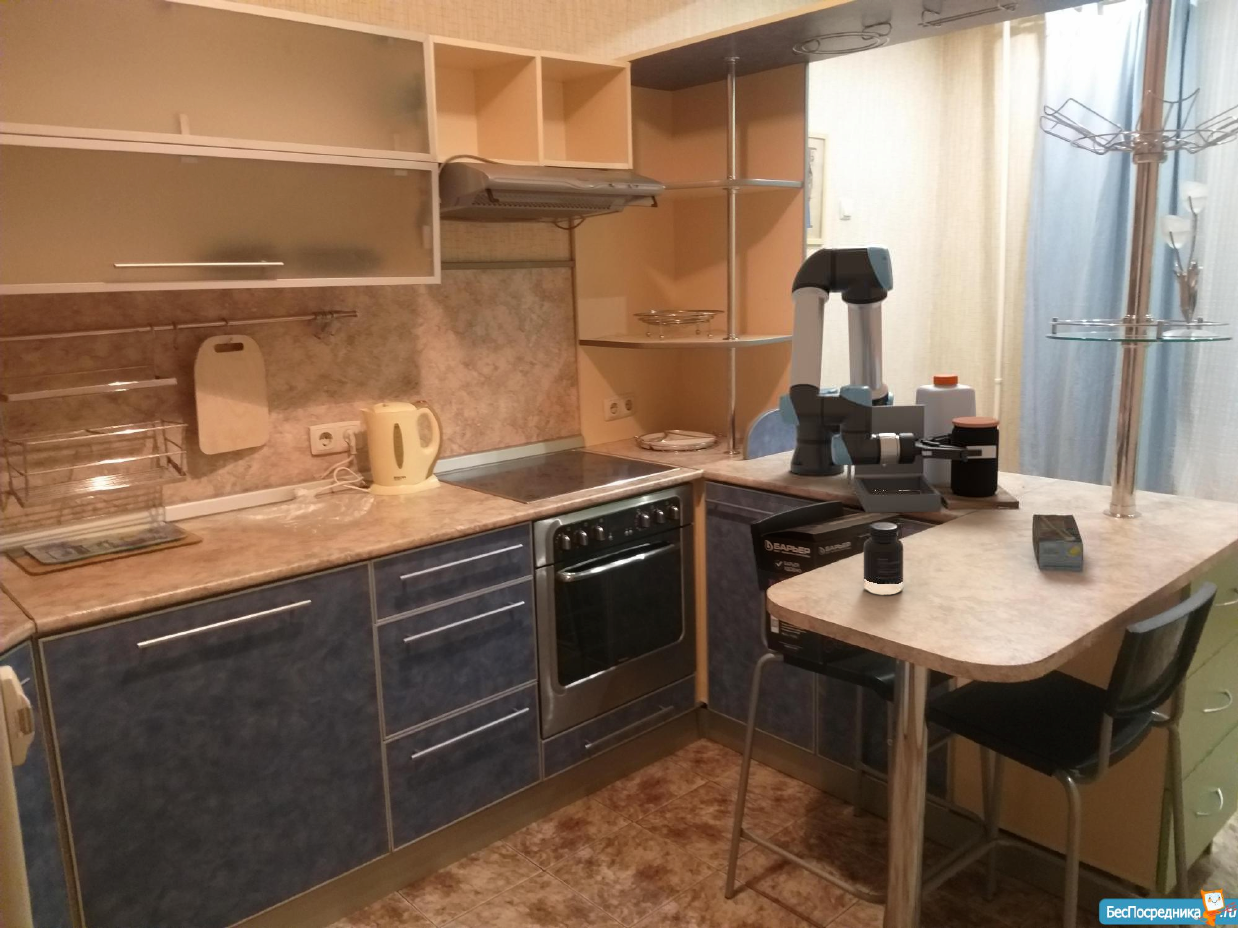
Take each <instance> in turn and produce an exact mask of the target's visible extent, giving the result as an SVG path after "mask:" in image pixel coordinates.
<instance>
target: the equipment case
mask: <svg viewBox="0 0 1238 928" xmlns="http://www.w3.org/2000/svg"><path fill="white" fill-rule="evenodd" d="M884 433H895V435H896V436H897V434H899V433H912V434H913V435H914V437H915V438H924V405H915V404H904V405H903V404H899V405H898V404H897V405H896V404H895V405H893V406H872V434H884ZM846 466H847V468H846V469H847V470H846V486H847V487H850V486H851V484H852V482H851V481H852V466H851V465H846ZM853 466H854V467H853V470H854V472H853V473H854V474H853V475H854V476H853V479H854V485H853V487H854V490H855V491H854V493H855V492H856V493H855V495H856V494H857V495H856V497H857V496H858V497H857V498H859V499H858V500H859V502H860V505H861V506H862V508H863V510H864V511H865V513H911V512H912V513H914V512H915V513H916V512H917V513H918V512H920V513H921V512H925V513H926V512H941V511H942V510H941V509H942V502H941V494H940V493H939V492H938V491H937V490H936V489H935V487H934V486H933V485H932V484H931V483H930V482H929V481H928V480H927V479H926V478H925V477H924V474H923V470H924V458H922V455H916V456H915V461H914V463H913V464H899V463H898V462H896V463H895V464H887V466H886V467H884V466H883V464H877V465H875V464H874V465H853ZM875 490H876V491H883V490H884V491H883V492H900V491H899V490H902V491H901V492H904V491H903V490H919V491H918V492H919V493H910V494H909V493H905V494H904V493H901V494H899V493H898V494H897V493H896V494H870V492H868V491H875ZM921 493H922V494H921Z"/></svg>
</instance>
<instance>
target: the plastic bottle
mask: <svg viewBox="0 0 1238 928" xmlns="http://www.w3.org/2000/svg"><path fill="white" fill-rule="evenodd" d="M958 381H959V377H958V375H957V374H952V373H951V374H950V373H948V374H947V373H943V374H941V373H940V374H935V375H934V376H933V384H927V385H926V384H925V385H921V386H919V387H917V389H916V391H915V392H916V393H915V404H914V405H924V438H926V437H934V436H942V435H948V433H951V434H952V429H953V428H954V425H953V424H952V420H953V419H955V418H960V417H977V406H976V405H977V403H976V391H975V389H974V387H971V386H968V385H965V384H960V383H959V382H958ZM923 474H924V477H925V478H926V479H927V480H928V481H929V482H930V483H931V484H932V485H933V486H940V485H951V459H935V458H926V459H924V470H923Z"/></svg>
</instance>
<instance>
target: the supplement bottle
mask: <svg viewBox="0 0 1238 928" xmlns="http://www.w3.org/2000/svg"><path fill="white" fill-rule="evenodd" d="M868 530H869V531H868V536H869V538H867V539H866V540H865V541H864V543H863V580H864V579H866V580H867V581H869V582H873V583H877V584H899V583H901V582H903V583H904V545H903V542H902V541H901V540H900V539H898V538H897V537H899V532H898V531H899V529H898V525H897V524H895V523H892V522H886V521H885V522H883V521H881V522H880V521H879V522H873V523H870V524H869V529H868Z"/></svg>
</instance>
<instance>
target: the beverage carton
mask: <svg viewBox="0 0 1238 928" xmlns="http://www.w3.org/2000/svg"><path fill="white" fill-rule="evenodd" d="M1076 521H1077V520H1076V519H1075V517H1074V515H1073V514H1066V515H1065V514H1060V515H1058V514H1033V515H1032V525H1031V527H1032V529H1031V530H1032V536H1031V537H1032V538H1031V539H1032V547H1033V551H1034V556H1035V560H1036V564H1037V566H1038V569H1039V570H1044V571H1045V570H1047V571H1061V572H1062V571H1064V572H1079V573H1082V572H1083V571H1084V568H1083V567H1084V566H1083V565H1084V542H1083V539H1082V537H1081V532H1080V529H1079V527H1078V525H1077V522H1076Z"/></svg>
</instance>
